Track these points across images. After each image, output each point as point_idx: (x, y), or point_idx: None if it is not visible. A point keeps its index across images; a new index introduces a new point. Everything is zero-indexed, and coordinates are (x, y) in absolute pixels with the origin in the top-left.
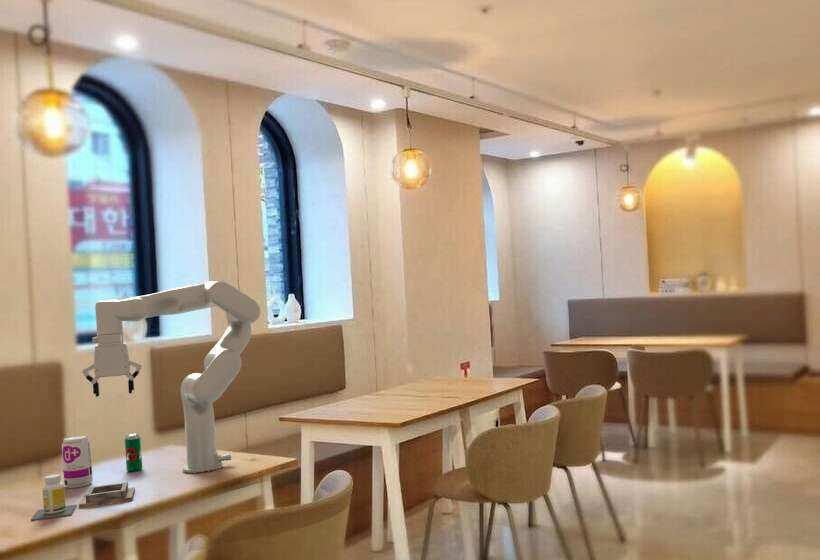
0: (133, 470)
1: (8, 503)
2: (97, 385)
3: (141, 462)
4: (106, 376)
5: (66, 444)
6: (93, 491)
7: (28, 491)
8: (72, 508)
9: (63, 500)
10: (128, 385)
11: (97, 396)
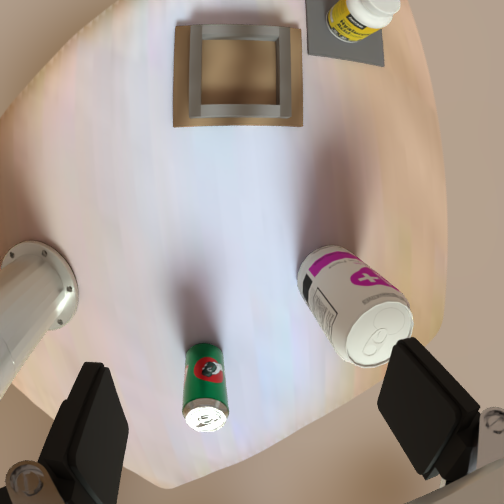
0: (204, 343)
1: (443, 182)
2: (450, 404)
3: (185, 363)
4: (420, 501)
5: (402, 295)
6: (278, 88)
7: (417, 269)
8: (311, 24)
9: (334, 6)
10: (85, 419)
11: (398, 340)
